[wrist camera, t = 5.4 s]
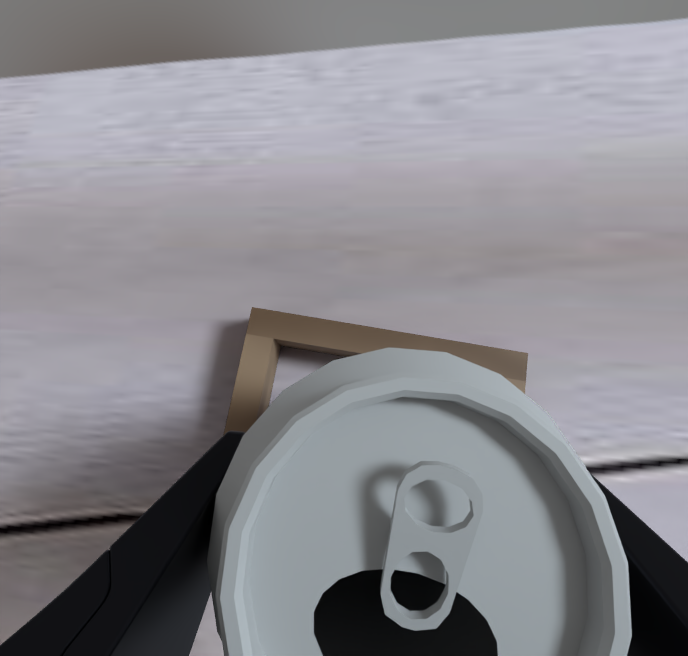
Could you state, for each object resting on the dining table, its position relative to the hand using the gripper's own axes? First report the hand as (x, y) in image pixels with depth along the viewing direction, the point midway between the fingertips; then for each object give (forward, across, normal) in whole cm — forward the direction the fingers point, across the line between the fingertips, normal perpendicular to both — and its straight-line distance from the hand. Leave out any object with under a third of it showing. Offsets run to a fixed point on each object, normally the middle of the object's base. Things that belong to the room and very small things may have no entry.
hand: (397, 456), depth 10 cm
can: (+5, 0, +7) cm, 9 cm away
